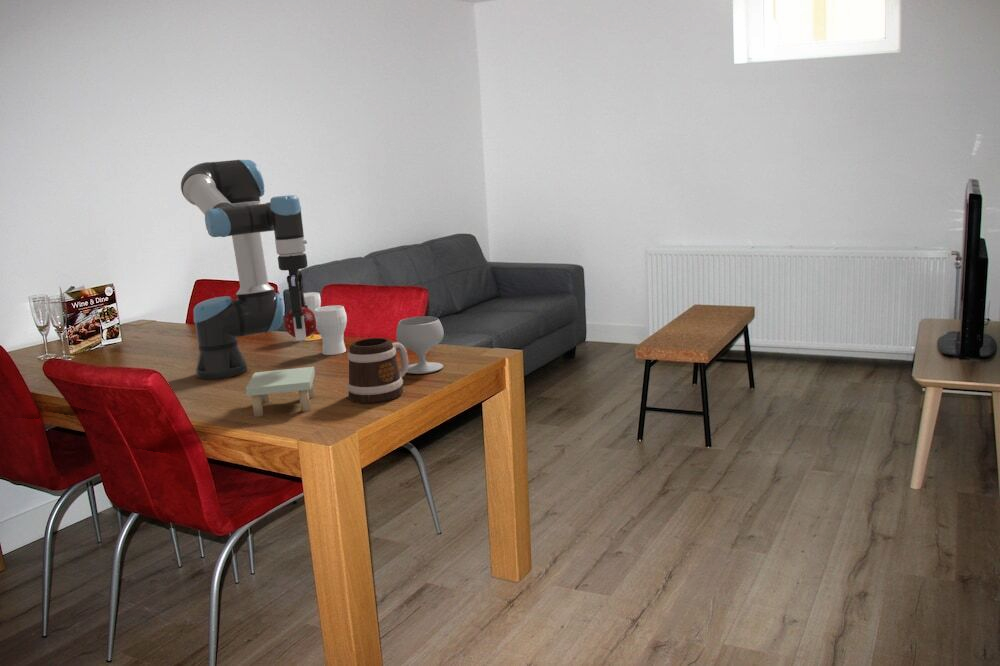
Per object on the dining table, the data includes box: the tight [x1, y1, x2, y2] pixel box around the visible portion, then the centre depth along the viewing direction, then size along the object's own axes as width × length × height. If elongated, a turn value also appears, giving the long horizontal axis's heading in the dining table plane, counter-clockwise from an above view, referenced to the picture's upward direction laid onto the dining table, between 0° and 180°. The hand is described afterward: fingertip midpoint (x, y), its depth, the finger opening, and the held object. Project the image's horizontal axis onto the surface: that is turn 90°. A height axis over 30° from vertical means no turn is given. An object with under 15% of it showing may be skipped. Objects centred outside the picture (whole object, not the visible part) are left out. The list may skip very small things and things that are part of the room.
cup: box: [314, 304, 348, 356], centre depth 281 cm, size 11×11×15 cm
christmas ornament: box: [284, 307, 317, 338], centre depth 231 cm, size 9×9×10 cm
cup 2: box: [301, 291, 322, 342], centre depth 305 cm, size 9×9×16 cm
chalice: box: [395, 315, 445, 375], centre depth 251 cm, size 14×14×15 cm
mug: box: [346, 337, 409, 404], centre depth 230 cm, size 20×15×15 cm
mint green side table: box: [245, 366, 316, 418], centre depth 225 cm, size 16×16×8 cm
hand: (302, 336), depth 232 cm, fingers closed on christmas ornament, 9 cm apart
